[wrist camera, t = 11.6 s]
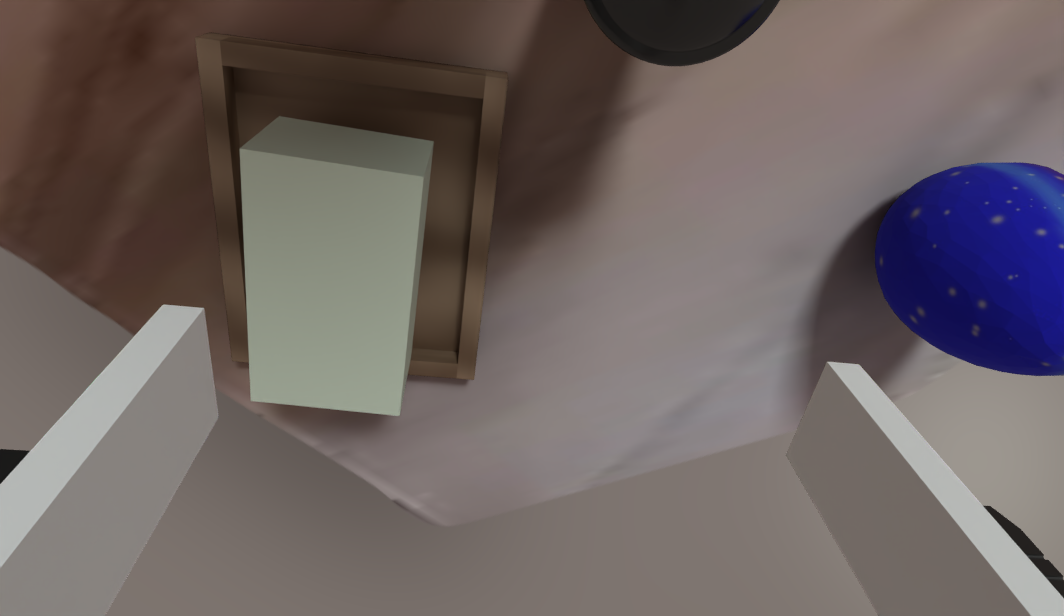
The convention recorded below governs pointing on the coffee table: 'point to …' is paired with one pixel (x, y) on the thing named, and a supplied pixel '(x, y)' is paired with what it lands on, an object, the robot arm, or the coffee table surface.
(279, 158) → the grey boxy block
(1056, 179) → the ornament
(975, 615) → the robot arm
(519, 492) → the coffee table surface
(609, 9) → the drinking cup
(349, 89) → the peg frame
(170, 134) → the coffee table surface
